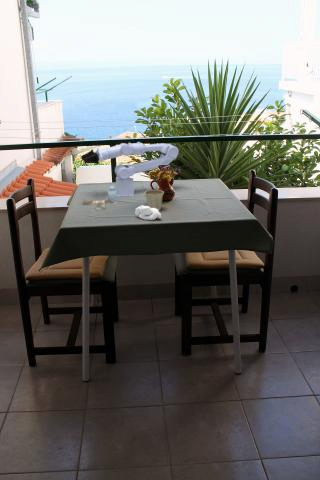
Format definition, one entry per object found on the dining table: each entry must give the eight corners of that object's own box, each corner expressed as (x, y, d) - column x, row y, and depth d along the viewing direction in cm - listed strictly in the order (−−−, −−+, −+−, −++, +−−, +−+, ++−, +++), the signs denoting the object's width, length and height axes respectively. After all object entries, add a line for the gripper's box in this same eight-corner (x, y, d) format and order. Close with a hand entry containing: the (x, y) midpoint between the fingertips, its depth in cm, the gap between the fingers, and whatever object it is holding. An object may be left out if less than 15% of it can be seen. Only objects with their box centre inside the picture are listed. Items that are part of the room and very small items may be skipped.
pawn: (116, 200, 256) (116, 184, 253) (117, 202, 252) (116, 186, 249) (108, 200, 255) (107, 184, 252) (108, 203, 251) (107, 187, 248)
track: (116, 200, 256) (116, 197, 256) (116, 204, 251) (116, 200, 250) (83, 202, 255) (83, 198, 254) (83, 205, 249) (83, 201, 249)
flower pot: (154, 205, 247) (154, 188, 244) (168, 209, 241) (168, 191, 238) (140, 209, 241) (140, 192, 238) (154, 213, 235) (153, 195, 232)
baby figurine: (164, 220, 225) (156, 208, 220) (140, 229, 228) (132, 218, 223) (162, 207, 231) (155, 195, 225) (139, 216, 234) (131, 204, 228)
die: (104, 208, 245) (104, 200, 244) (104, 210, 242) (104, 202, 240) (96, 208, 245) (96, 200, 244) (96, 210, 241) (96, 202, 240)
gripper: (103, 143, 262) (78, 149, 259) (109, 148, 250) (83, 155, 247) (106, 156, 265) (81, 162, 262) (112, 162, 253) (86, 168, 250)
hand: (82, 159), depth 255 cm, fingers open, 7 cm apart
